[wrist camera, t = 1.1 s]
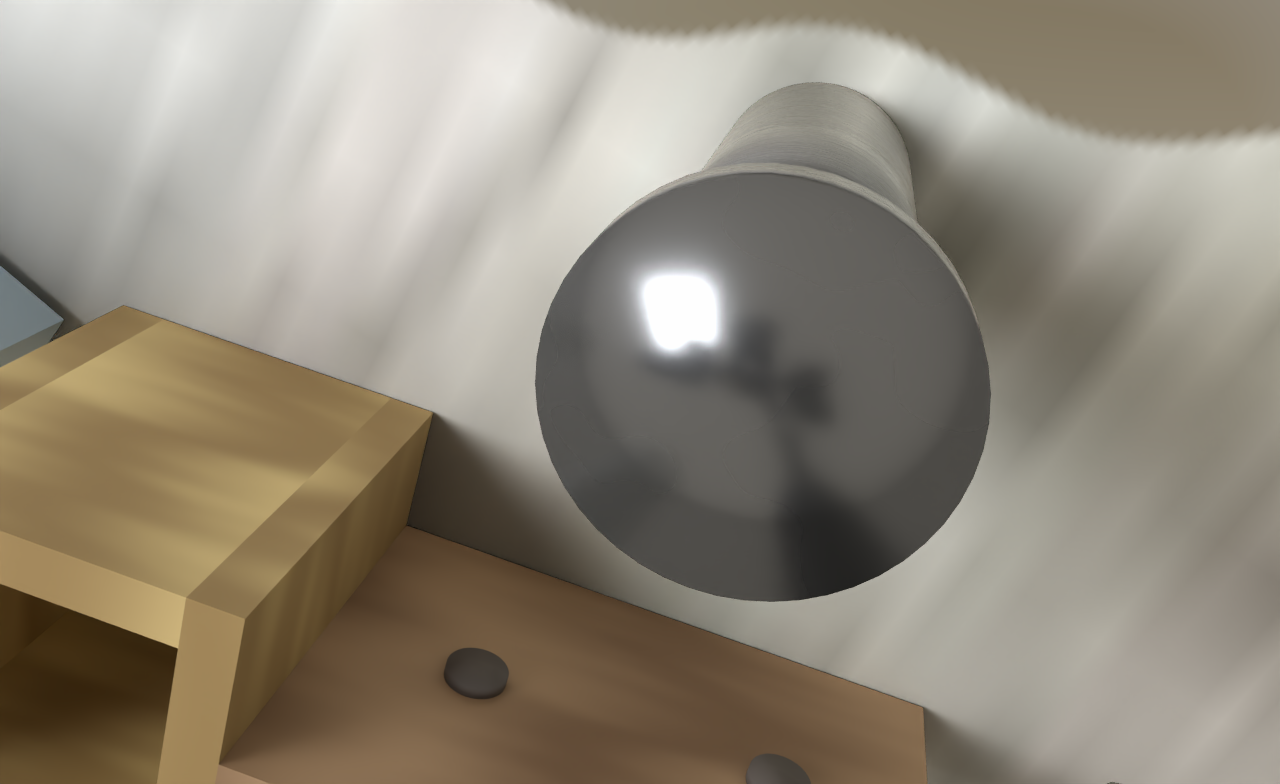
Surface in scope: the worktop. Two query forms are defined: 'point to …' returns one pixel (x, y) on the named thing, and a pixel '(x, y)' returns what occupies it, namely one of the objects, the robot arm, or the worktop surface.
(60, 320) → the swing leaf
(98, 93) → the worktop surface
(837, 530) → the hinge pin
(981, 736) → the worktop surface
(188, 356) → the knuckle leaf
